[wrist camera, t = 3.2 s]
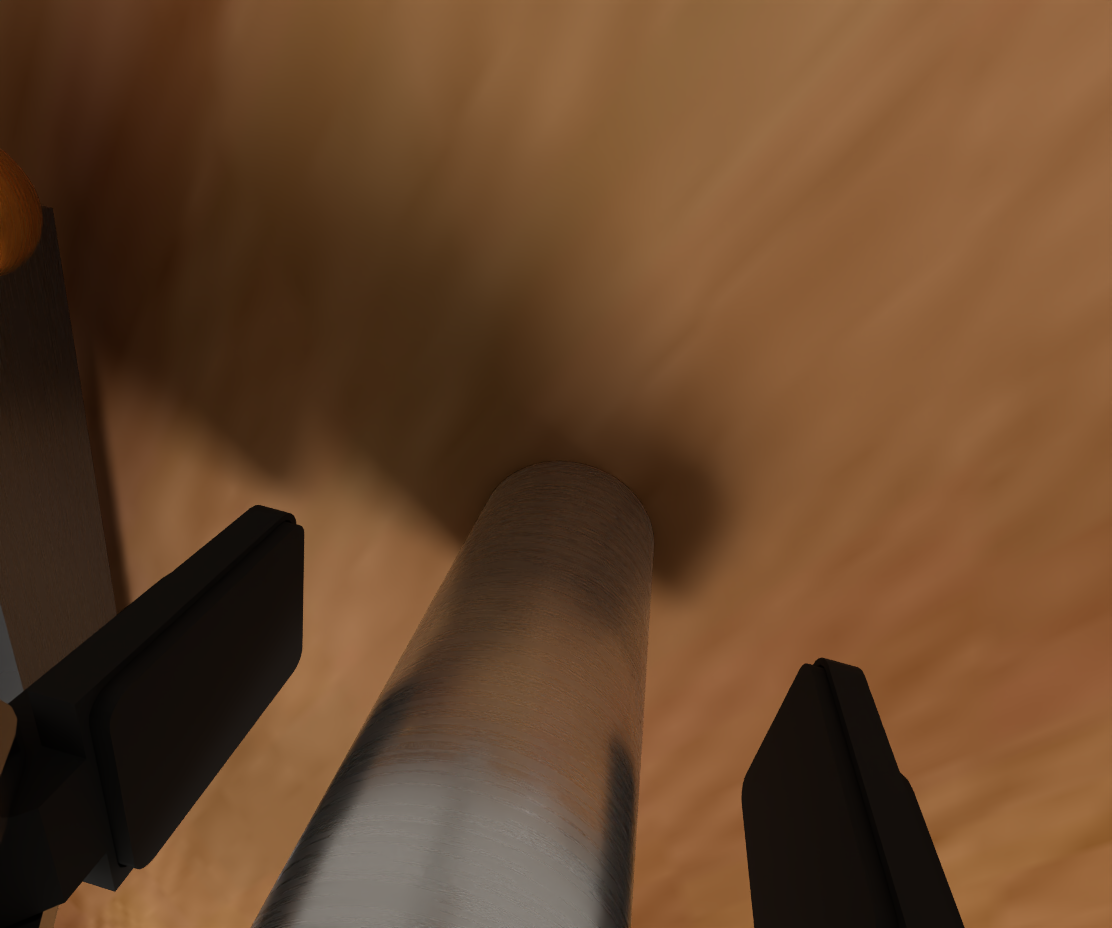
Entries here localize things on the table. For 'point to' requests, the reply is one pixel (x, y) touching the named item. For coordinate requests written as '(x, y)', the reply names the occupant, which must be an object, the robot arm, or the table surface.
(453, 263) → the table surface
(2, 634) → the lever
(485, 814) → the rod
